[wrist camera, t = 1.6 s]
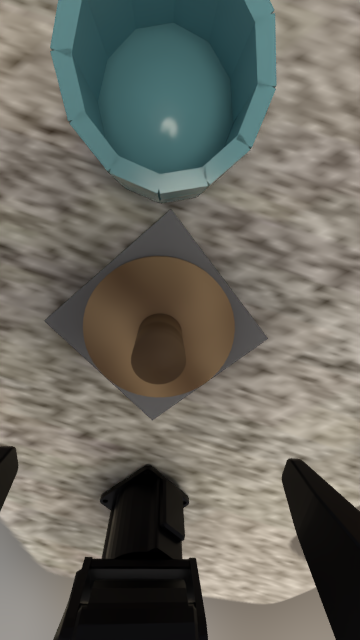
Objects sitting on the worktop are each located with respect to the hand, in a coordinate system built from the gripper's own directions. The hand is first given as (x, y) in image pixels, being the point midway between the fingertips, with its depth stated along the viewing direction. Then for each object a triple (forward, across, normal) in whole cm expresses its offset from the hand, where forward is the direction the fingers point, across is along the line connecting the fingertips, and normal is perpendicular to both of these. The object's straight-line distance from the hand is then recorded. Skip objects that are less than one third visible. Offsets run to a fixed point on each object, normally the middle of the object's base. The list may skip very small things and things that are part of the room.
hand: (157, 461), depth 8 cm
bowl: (+12, +1, -13) cm, 18 cm away
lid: (+12, 0, 0) cm, 12 cm away
